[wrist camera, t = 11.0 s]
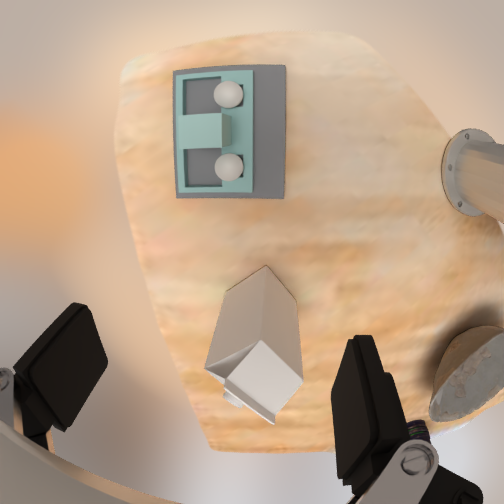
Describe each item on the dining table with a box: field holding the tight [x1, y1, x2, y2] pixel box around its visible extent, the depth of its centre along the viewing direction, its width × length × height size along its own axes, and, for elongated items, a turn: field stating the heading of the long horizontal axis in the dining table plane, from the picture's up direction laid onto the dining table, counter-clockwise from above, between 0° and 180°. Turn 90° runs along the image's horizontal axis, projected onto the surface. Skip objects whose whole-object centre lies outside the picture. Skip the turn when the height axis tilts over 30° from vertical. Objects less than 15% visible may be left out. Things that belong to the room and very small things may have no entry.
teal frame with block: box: [176, 70, 254, 193], centre depth 27 cm, size 9×14×7 cm, turn 0°
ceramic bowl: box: [429, 326, 504, 422], centre depth 38 cm, size 22×23×10 cm
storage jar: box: [407, 420, 439, 465], centre depth 47 cm, size 10×10×15 cm
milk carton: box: [204, 266, 304, 425], centre depth 31 cm, size 7×7×19 cm
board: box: [173, 65, 285, 199], centre depth 30 cm, size 13×16×4 cm
